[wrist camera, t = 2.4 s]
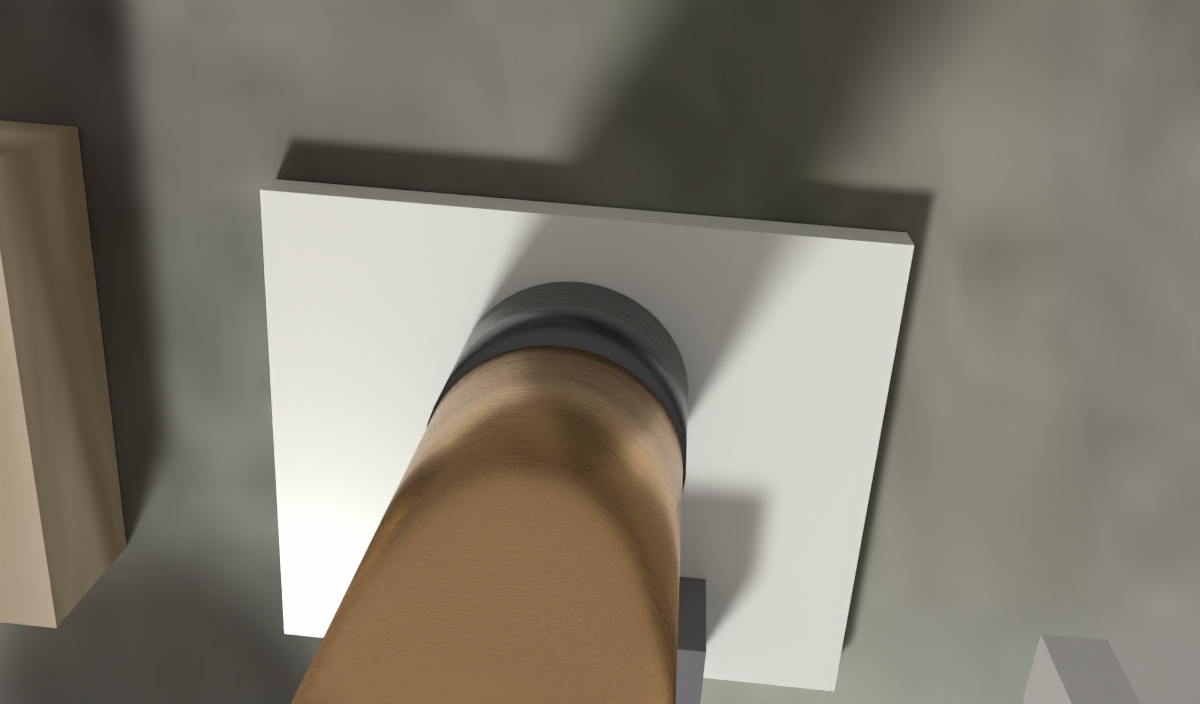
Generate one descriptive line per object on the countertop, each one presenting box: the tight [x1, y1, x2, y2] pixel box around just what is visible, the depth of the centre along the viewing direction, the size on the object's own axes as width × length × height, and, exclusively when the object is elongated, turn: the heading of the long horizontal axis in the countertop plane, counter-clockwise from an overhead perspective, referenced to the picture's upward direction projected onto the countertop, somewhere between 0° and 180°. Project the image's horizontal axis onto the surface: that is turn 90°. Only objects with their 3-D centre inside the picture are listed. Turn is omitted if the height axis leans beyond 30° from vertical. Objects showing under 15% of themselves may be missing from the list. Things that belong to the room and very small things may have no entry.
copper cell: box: [291, 281, 688, 704], centre depth 17 cm, size 4×4×12 cm
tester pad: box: [260, 179, 914, 704], centre depth 22 cm, size 12×10×3 cm
